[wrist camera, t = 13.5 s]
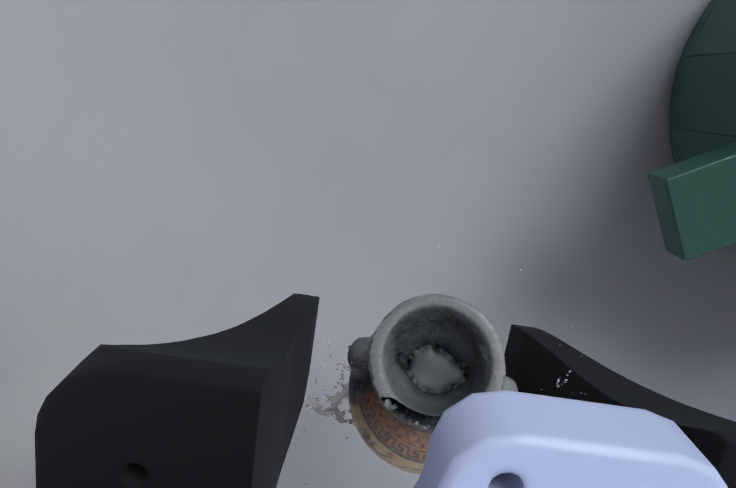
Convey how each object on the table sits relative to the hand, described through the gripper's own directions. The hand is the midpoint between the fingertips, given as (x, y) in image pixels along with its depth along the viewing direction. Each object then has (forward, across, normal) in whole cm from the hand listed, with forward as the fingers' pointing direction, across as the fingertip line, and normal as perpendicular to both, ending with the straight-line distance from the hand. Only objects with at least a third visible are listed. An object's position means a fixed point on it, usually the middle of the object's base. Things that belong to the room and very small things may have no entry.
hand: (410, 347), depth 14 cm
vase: (+2, 0, 0) cm, 2 cm away
